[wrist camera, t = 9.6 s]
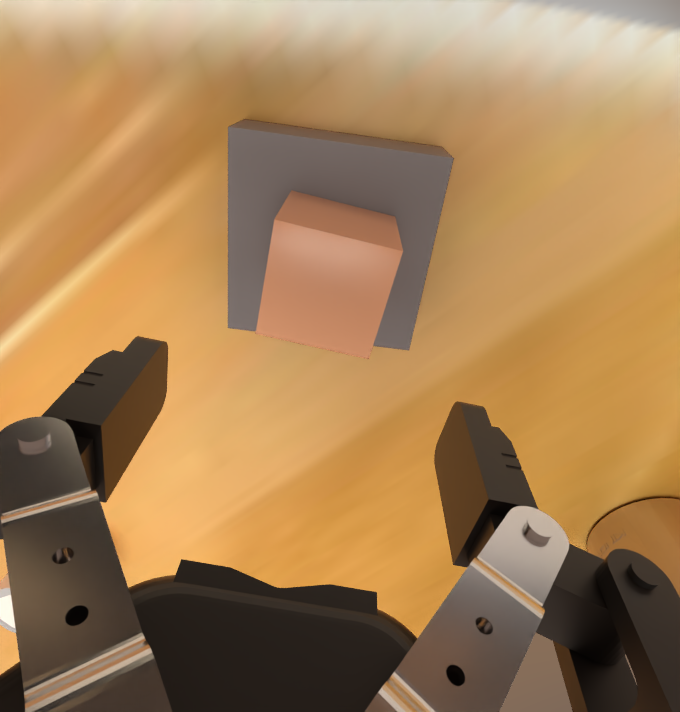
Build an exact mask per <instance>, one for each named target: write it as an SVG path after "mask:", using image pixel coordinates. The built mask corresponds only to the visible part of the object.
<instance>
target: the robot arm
mask: <svg viewBox="0 0 680 712" xmlns="http://www.w3.org/2000/svg"><path fill="white" fill-rule="evenodd" d="M167 367H168V345H167V343H166V342H164V341H159V340H154V339H149V338H144V337H139V336H137V337H136V338H135V339H134V340H133V341H132V342H131V343H130V344H129V345H128V347H127V348H126V349H125V350H124V351H123V352H119V351H114V350H112V351H110V352H108V353H106V354H104V355H102V356H100V357H98V358H96V359H95V360H94V361H93V362H92V363H91V364H90V365H89V366H88V367H87V368H86V369H85V370H84V373H81V374H80V376H79V377H78V378H77V379H76V380H75V383H72V384H71V385H70V386H69V387H68V388H67V389H66V390H65V392H64V393H63V394H62V395H61V396H60V397H59V398H58V399H57V400H56V401H55V402H54V403H53V404H52V405H51V406H50V408H49V409H48V410H47V411H46V412H45V413H44V414H43V415H42V416H41V417H32V418H27V419H23V420H20V421H17V422H15V423H13V424H10V425H9V426H7V427H5V428H4V429H3V430H1V431H0V539H3V540H4V547H5V554H6V562H7V569H8V576H9V584H10V591H11V599H12V606H13V613H14V621H15V628H16V636H17V643H18V650H19V658H20V662H18V663H17V664H15V665H14V666H13V667H11V668H10V669H8V670H7V671H5V672H4V673H3V674H1V675H0V712H499V711H500V709H501V707H502V705H503V703H504V700H505V698H506V696H507V694H508V692H509V690H510V687H511V685H512V683H513V681H514V679H515V676H516V674H517V672H518V670H519V668H520V666H521V663H522V661H523V659H524V657H525V654H526V652H527V650H528V648H529V645H530V644H531V641H532V639H533V637H534V635H535V633H536V632H537V633H538V634H540V635H543V636H544V637H546V638H548V639H551V640H553V643H554V646H555V650H556V653H557V657H558V661H559V664H560V668H561V671H562V675H563V678H564V681H565V685H566V689H567V692H568V696H569V699H570V703H571V707H572V710H573V712H680V500H679V499H674V498H656V499H647V500H643V501H639V502H634V503H632V504H629V505H626V506H624V507H621V508H619V509H617V510H615V511H614V512H612V513H610V514H609V515H607V516H606V517H605V518H603V519H602V520H601V521H600V522H599V523H598V524H597V525H596V526H595V527H594V528H593V530H592V532H591V533H590V535H589V538H588V542H587V549H588V552H586V551H584V550H582V549H579V548H577V547H575V546H573V545H571V544H569V541H568V538H567V535H566V533H565V532H564V530H563V529H562V527H561V526H560V525H559V524H558V523H557V522H556V521H555V520H554V519H553V518H552V517H550V516H549V515H547V514H546V513H544V512H542V511H540V510H538V507H537V505H536V502H535V500H534V497H533V495H532V492H531V490H530V487H529V485H528V483H527V480H526V478H525V475H524V473H523V471H522V470H521V465H520V463H519V460H518V459H517V458H516V457H517V455H516V453H515V450H514V448H513V445H512V443H511V441H510V440H509V439H508V438H507V436H506V435H505V434H504V433H503V432H502V431H501V430H500V428H497V427H492V426H491V424H490V421H489V418H488V415H487V413H486V410H485V408H484V407H482V406H477V405H472V404H467V403H463V402H456V403H455V404H454V405H453V407H452V409H451V411H450V414H449V416H448V418H447V421H446V423H445V426H444V428H443V430H442V433H441V435H440V437H439V440H438V442H437V445H436V450H435V468H436V474H437V479H438V485H439V490H440V496H441V501H442V506H443V512H444V517H445V523H446V528H447V534H448V539H449V544H450V550H451V555H452V561H453V565H457V566H463V567H468V568H467V569H466V570H465V572H464V573H463V575H462V576H461V578H460V579H459V580H458V582H457V583H456V585H455V586H454V588H453V589H452V590H451V592H450V593H449V595H448V596H447V598H446V599H445V600H444V602H443V603H442V605H441V606H440V607H439V609H438V610H437V612H436V613H435V615H434V616H433V617H432V619H431V620H430V622H429V623H428V625H427V626H426V627H425V629H424V630H423V632H422V633H421V635H420V636H419V637H418V639H417V638H416V637H415V635H414V634H413V633H412V632H411V631H409V630H408V629H407V628H406V627H405V626H404V625H403V624H401V623H400V622H399V621H397V620H396V619H395V618H393V617H391V616H390V615H388V614H386V613H385V612H383V611H381V610H378V609H377V592H372V591H366V590H360V589H354V588H348V587H342V586H336V585H330V584H329V585H317V586H305V587H293V588H277V587H274V586H271V585H269V584H267V583H264V582H262V581H260V580H258V579H255V578H253V577H251V576H248V575H246V574H244V573H242V572H239V571H237V570H235V569H233V568H230V567H224V566H218V565H212V564H206V563H200V562H194V561H188V560H182V559H181V562H180V565H179V567H178V570H177V573H176V575H172V576H164V577H159V578H154V579H151V580H147V581H144V582H141V583H139V584H136V585H134V586H132V587H129V588H128V586H127V583H126V580H125V577H124V574H123V571H122V568H121V565H120V562H119V558H118V555H117V552H116V549H115V546H114V543H113V540H112V537H111V534H110V531H109V528H108V525H107V521H106V518H105V515H104V512H103V509H102V506H101V503H100V502H107V500H108V498H109V497H110V495H111V493H112V492H113V490H114V488H115V487H116V485H117V483H118V482H119V480H120V478H121V477H122V475H123V473H124V472H125V470H126V468H127V467H128V465H129V463H130V462H131V460H132V458H133V456H134V455H135V453H136V451H137V450H138V448H139V446H140V445H141V443H142V441H143V440H144V438H145V436H146V435H147V433H148V431H149V430H150V428H151V426H152V425H153V423H154V421H155V420H156V418H157V416H158V415H159V413H160V411H161V409H162V407H163V404H164V401H165V397H166V392H167ZM625 654H626V655H627V658H628V660H629V663H630V665H631V668H632V670H633V673H634V675H635V678H636V682H637V685H636V683H635V680H634V678H633V675H632V673H631V670H630V668H629V665H628V663H627V660H626V658H625Z"/></svg>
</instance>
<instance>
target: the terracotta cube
mask: <svg viewBox="0 0 680 712" xmlns="http://www.w3.org/2000/svg"><path fill="white" fill-rule="evenodd" d="M402 253H403V248H402V244H401V240H400V235H399V231H398V227H397V222H396V218H395V216H391V215H387V214H383V213H379V212H375V211H371V210H367V209H363V208H359V207H355V206H351V205H347V204H343V203H339V202H335V201H332V200H328V199H324V198H320V197H316V196H312V195H308V194H304V193H300V192H296V191H292V190H291V192H290V194H289V195H288V197H287V199H286V200H285V202H284V204H283V205H282V207H281V209H280V211H279V212H278V214H277V216H276V217H275V219H274V224H273V231H272V237H271V243H270V249H269V255H268V261H267V267H266V273H265V279H264V285H263V291H262V297H261V304H260V310H259V316H258V322H257V328H256V334H259V335H264V336H268V337H272V338H277V339H281V340H286V341H290V342H295V343H299V344H304V345H308V346H313V347H317V348H321V349H326V350H330V351H335V352H339V353H344V354H348V355H353V356H357V357H362V358H366V359H369V357H370V354H371V351H372V348H373V344H374V341H375V338H376V335H377V332H378V329H379V326H380V322H381V319H382V316H383V313H384V310H385V307H386V303H387V300H388V297H389V294H390V291H391V288H392V285H393V281H394V278H395V275H396V272H397V269H398V266H399V262H400V259H401V256H402Z"/></svg>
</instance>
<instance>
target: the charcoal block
mask: <svg viewBox="0 0 680 712" xmlns="http://www.w3.org/2000/svg"><path fill="white" fill-rule="evenodd" d="M453 159H454V158H453V157H452V156H451V155H450V154H449V153H448V152H447V151H446V150H444V149H443V148H442V147H440V146H433V145H426V144H418V143H411V142H404V141H397V140H390V139H383V138H376V137H368V136H361V135H354V134H347V133H340V132H333V131H326V130H319V129H311V128H304V127H297V126H290V125H283V124H276V123H269V122H262V121H254V120H247V119H244V120H242V121H240V122H237V123H235V124H233V125H231V126H229V127H228V328H232V329H240V330H249V331H256V328H257V322H258V316H259V310H260V304H261V297H262V291H263V285H264V279H265V273H266V267H267V261H268V255H269V249H270V243H271V237H272V231H273V224H274V219H275V217H276V216H277V214H278V212H279V211H280V209H281V207H282V205H283V204H284V202H285V200H286V199H287V197H288V195H289V194H290V192H291V190H292V191H296V192H300V193H304V194H308V195H312V196H316V197H320V198H324V199H328V200H332V201H335V202H339V203H343V204H347V205H351V206H355V207H359V208H363V209H367V210H371V211H375V212H379V213H383V214H387V215H391V216H395V218H396V222H397V227H398V231H399V235H400V240H401V244H402V248H403V253H402V256H401V259H400V262H399V266H398V269H397V272H396V275H395V278H394V281H393V285H392V288H391V291H390V294H389V297H388V300H387V303H386V307H385V310H384V313H383V316H382V319H381V322H380V326H379V329H378V332H377V335H376V338H375V341H374V344H373V346H378V347H386V348H394V349H402V350H409V348H410V344H411V339H412V335H413V331H414V327H415V322H416V318H417V314H418V309H419V305H420V301H421V297H422V292H423V288H424V284H425V279H426V275H427V271H428V266H429V262H430V258H431V254H432V249H433V245H434V241H435V236H436V232H437V228H438V224H439V219H440V215H441V211H442V206H443V202H444V198H445V193H446V189H447V185H448V181H449V176H450V172H451V168H452V163H453Z"/></svg>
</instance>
